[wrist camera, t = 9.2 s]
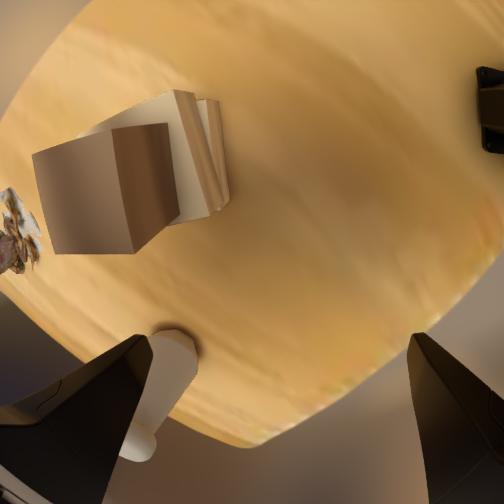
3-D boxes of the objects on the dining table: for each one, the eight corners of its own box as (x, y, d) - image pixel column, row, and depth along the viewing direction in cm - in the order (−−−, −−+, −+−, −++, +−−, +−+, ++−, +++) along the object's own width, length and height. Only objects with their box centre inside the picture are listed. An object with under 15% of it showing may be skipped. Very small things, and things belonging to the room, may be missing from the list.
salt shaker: (141, 323, 28) (73, 422, 16) (190, 317, 26) (127, 436, 15) (166, 365, 30) (116, 462, 18) (213, 363, 28) (171, 476, 17)
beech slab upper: (193, 93, 16) (172, 89, 13) (224, 201, 18) (210, 216, 16) (103, 131, 17) (76, 136, 15) (133, 223, 20) (110, 240, 17)
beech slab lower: (219, 101, 18) (205, 99, 16) (231, 198, 21) (220, 210, 19) (132, 119, 20) (109, 122, 17) (146, 205, 23) (127, 218, 20)
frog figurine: (35, 297, 31) (17, 312, 28) (-12, 230, 28) (-31, 241, 25) (63, 250, 26) (40, 267, 23) (8, 171, 24) (-17, 180, 20)
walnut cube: (167, 122, 14) (111, 129, 9) (180, 214, 16) (134, 254, 11) (93, 139, 15) (31, 154, 10) (108, 219, 17) (55, 254, 12)
